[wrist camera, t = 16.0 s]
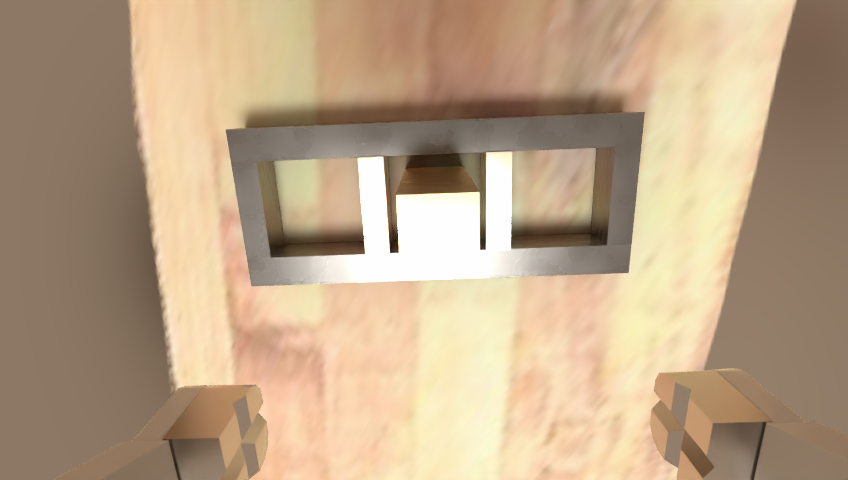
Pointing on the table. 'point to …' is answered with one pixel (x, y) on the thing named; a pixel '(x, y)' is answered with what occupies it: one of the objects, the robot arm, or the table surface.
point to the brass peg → (438, 220)
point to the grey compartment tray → (495, 143)
